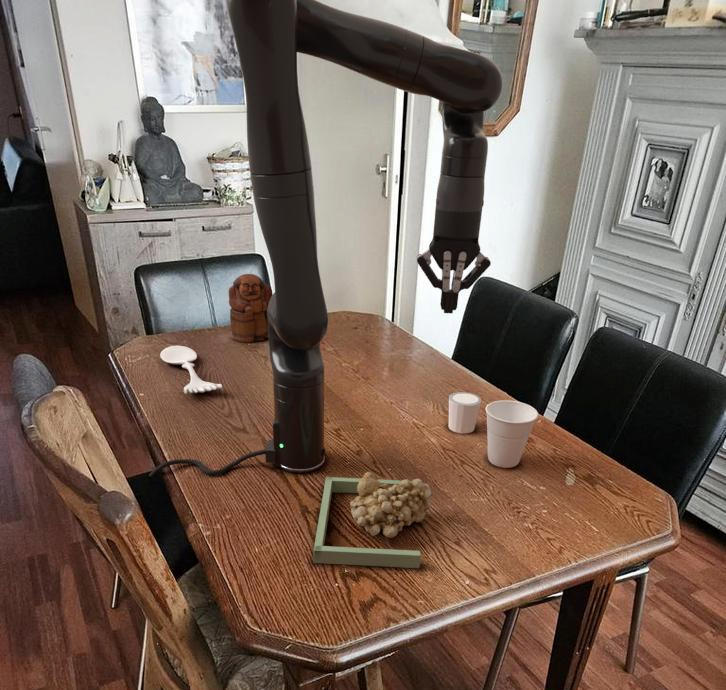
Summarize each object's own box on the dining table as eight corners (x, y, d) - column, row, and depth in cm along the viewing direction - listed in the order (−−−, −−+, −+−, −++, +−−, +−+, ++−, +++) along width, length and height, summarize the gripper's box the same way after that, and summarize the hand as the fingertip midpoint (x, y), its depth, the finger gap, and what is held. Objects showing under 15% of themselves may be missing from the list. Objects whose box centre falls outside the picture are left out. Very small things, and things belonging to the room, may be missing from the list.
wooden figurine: (236, 344, 176) (231, 279, 167) (230, 337, 181) (225, 273, 172) (276, 339, 181) (274, 275, 171) (270, 332, 186) (267, 270, 176)
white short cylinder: (476, 436, 134) (480, 406, 130) (444, 432, 135) (447, 402, 131) (477, 422, 139) (482, 393, 136) (447, 419, 140) (450, 390, 137)
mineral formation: (436, 514, 108) (403, 558, 96) (367, 504, 114) (327, 545, 102) (434, 471, 105) (399, 511, 93) (363, 464, 111) (321, 500, 99)
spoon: (185, 404, 142) (184, 390, 141) (157, 356, 166) (155, 344, 165) (224, 398, 146) (223, 384, 144) (191, 352, 170) (190, 340, 168)
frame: (313, 563, 96) (313, 550, 95) (325, 488, 114) (326, 476, 113) (419, 568, 96) (420, 555, 95) (414, 492, 114) (416, 481, 113)
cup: (518, 479, 119) (528, 427, 114) (470, 464, 124) (477, 413, 118) (535, 458, 127) (545, 408, 121) (489, 444, 131) (497, 395, 125)
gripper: (496, 204, 105) (482, 307, 114) (417, 200, 105) (409, 304, 114) (503, 211, 98) (488, 320, 108) (419, 207, 99) (410, 317, 108)
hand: (447, 312), depth 111 cm, fingers closed
